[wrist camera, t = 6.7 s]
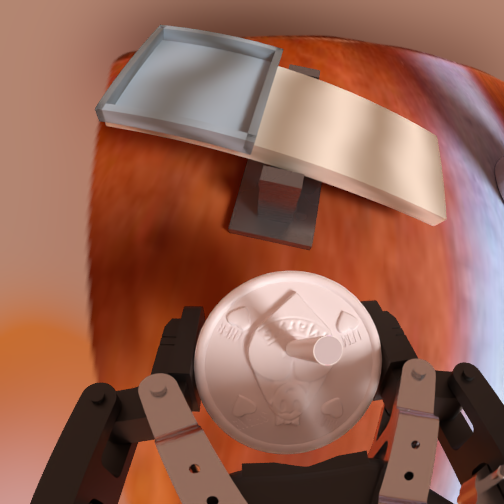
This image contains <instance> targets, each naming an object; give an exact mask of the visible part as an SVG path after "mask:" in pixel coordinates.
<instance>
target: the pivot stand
mask: <svg viewBox="0 0 504 504" xmlns="http://www.w3.org/2000/svg"><path fill="white" fill-rule="evenodd" d="M289 70H292V71H295V72H298V73H301V74H304V75H307V76H310V77H313V78H315V79H318V80H319V75H320V71H319V70H315V69H310V68H306V67H301V66H296V65H290V66H289ZM321 183H322V182H321V181H318V180H315V179H312V178H309V177H306V176H304V174H301V173H297V172H292V171H288V170H285V169H282V168H278V167H275V166H272V165H269V164H265V163H262V162H259V161H255V160H252V159H248V161H247V165H246V168H245V171H244V175H243V178H242V182H241V185H240V189H239V192H238V196H237V199H236V203H235V207H234V210H233V214H232V217H231V221H230V225H229V228H228V229H229V233H233V234H238V235H242V236H247V237H252V238H256V239H261V240H265V241H270V242H275V243H279V244H284V245H288V246H293V247H297V248H302V249H306V250H310V249H311V247H312V243H313V236H314V230H315V224H316V218H317V211H318V204H319V197H320V190H321Z"/></svg>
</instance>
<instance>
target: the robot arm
mask: <svg viewBox="0 0 504 504" xmlns="http://www.w3.org/2000/svg"><path fill="white" fill-rule="evenodd" d="M495 176H496V181H497V185H498V188H499V191H500V194H501V196H502V198H503V200H504V156H503V157H502V158H501V159H500V160H499V161H498V162H497V163H496V166H495ZM360 302H361V303H362V305H363V306H364V307H365V308H366V310H367V311H368V313H369V314H370V316H371V318H372V320H373V322H374V324H375V327H376V329H377V332H378V336H379V339H380V344H381V352H382V368H381V375H380V380H379V384H378V388H377V391H376V393H375V396H374V398H373V401H375V400H381V399H383V402H384V405H383V407H382V410H381V414H380V418H379V422H378V426H377V429H376V433H375V437H374V440H373V444H372V446H371V449H370V451H369V453H368V455H367V451H362V452H357V453H352V454H346V455H340V456H336V457H334V458H331V459H329V460H326V461H323V462H321V463H318V464H315V465H312V466H309V467H302V466H294V465H287V464H280V463H246V464H242V470H241V471H237V472H234V473H231V474H228V473H227V471H226V469H225V468H224V466H223V464H222V463H221V461H220V459H219V458H218V456H217V454H216V452H215V451H214V449H213V447H212V445H211V444H210V442H209V440H208V438H207V437H206V435H205V433H204V431H203V429H202V428H201V426H199V425H198V424H197V422H196V420H195V418H194V416H193V414H192V411H198V412H200V404H201V398H200V396H199V393H198V389H197V386H196V381H195V373H194V357H195V349H196V345H197V341H198V338H199V335H200V332H201V330H202V327H203V325H204V323H205V316H204V309H203V307H202V306H185V307H184V309H183V313H182V317H181V319H171V320H170V322H169V323H168V324H167V325H166V326H165V328H164V331H163V334H162V338H161V341H160V346H159V348H158V351H157V355H156V358H155V362H154V365H153V369H152V372H151V375H150V376H148V377H146V378H145V379H144V380H143V381H142V382H141V383H140V385H139V386H138V387H136V388H132V389H126V390H120V391H115V389H114V388H113V387H112V386H111V385H109V384H106V383H95V384H92V385H90V386H88V387H87V388H86V389H85V390H84V391H83V393H82V395H81V397H80V398H79V400H78V402H77V404H76V406H75V408H74V410H73V412H72V414H71V416H70V418H69V419H68V421H67V423H66V425H65V427H64V430H63V431H62V434H61V436H60V437H59V440H58V442H57V444H56V446H55V448H54V450H53V452H52V454H51V456H50V459H49V461H48V463H47V465H46V468H45V470H44V472H43V474H42V477H41V479H40V481H39V483H38V486H37V488H36V490H35V493H34V495H33V498H32V500H31V503H30V504H118V502H119V498H120V495H121V492H122V489H123V486H124V483H125V480H126V477H127V474H128V471H129V468H130V465H131V462H132V459H133V456H134V453H135V450H136V447H137V444H138V442H141V441H147V440H153V439H155V444H156V447H157V449H158V452H159V454H160V457H161V459H162V461H163V464H164V466H165V468H166V470H167V473H168V475H169V477H170V479H171V481H172V483H173V486H174V488H175V490H176V492H177V494H178V496H179V498H180V500H181V502H182V504H453V503H452V502H450V501H448V500H447V499H445V498H444V497H442V496H440V495H439V494H437V493H436V492H434V491H433V490H431V489H429V488H430V483H431V478H432V472H433V467H434V460H435V454H436V447H437V438H438V440H439V442H440V444H441V446H442V448H443V450H444V451H445V453H446V455H447V457H448V459H449V461H450V463H451V465H452V467H453V469H454V471H455V474H456V476H457V478H458V480H459V482H460V484H461V489H460V495H459V496H458V498H457V502H458V504H504V405H503V403H502V402H501V400H500V399H499V397H498V396H497V394H496V393H495V392H494V390H493V389H492V387H491V386H490V385H489V383H488V382H487V380H486V379H485V378H484V376H483V375H482V374H481V372H480V371H479V370H478V368H476V367H475V366H474V365H472V364H470V363H459V364H457V365H456V366H455V368H454V369H453V371H452V372H447V371H436V370H434V368H433V366H432V365H431V364H430V363H428V362H427V361H425V360H422V359H418V357H417V355H416V353H415V352H414V350H413V348H412V346H411V344H410V342H409V341H408V339H407V337H406V335H404V332H403V330H402V328H400V327H401V326H400V325H399V323H398V321H397V320H396V318H395V317H394V316H393V315H391V314H390V313H389V312H388V311H382V309H381V307H380V306H379V304H378V302H377V301H376V300H373V301H360ZM462 409H463V410H464V411H465V413H466V415H467V416H468V418H469V419H470V421H471V423H472V425H473V428H474V432H472V430H471V428H470V427H469V425H468V423H467V421H466V420H465V418H464V416H463V415H462V413H461V412H460V411H461V410H462Z"/></svg>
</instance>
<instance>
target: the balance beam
mask: <svg viewBox="0 0 504 504" xmlns="http://www.w3.org/2000/svg"><path fill="white" fill-rule="evenodd" d="M282 52H283V49H281V48H277V47H274V46H270V45H267V44H263V43H259V42H255V41H251V40H247V39H243V38H239V37H234V36H229V35H224V34H220V33H214V32H209V31H202V30H197V29H190V28H183V27H175V26H166V25H160V26H159V27H158V28H157V29H156V30H155V31H154V32H153V33H152V35H151V36H150V37H149V38H148V39H147V40H146V42H145V43H144V44H143V45H142V46H141V47H140V48H139V50H138V51H137V52H136V53H135V54H134V56H133V57H132V58H131V59H130V61H129V62H128V63H127V64H126V66H125V67H124V68H123V70H122V71H121V72H120V73H119V75H118V76H117V77H116V79H115V80H114V82H113V83H112V84H111V86H110V87H109V88H108V90H107V91H106V93H105V94H104V96H103V97H102V99H101V100H100V101H99V103H98V104H97V106H96V108H95V111H96V113H97V116H98V119H99V121H102V122H105V124H106V126H110V127H115V128H121V129H126V130H132V131H137V132H142V133H147V134H152V135H156V136H161V137H165V138H170V139H174V140H179V141H183V142H187V143H191V144H196V145H200V146H204V147H208V148H212V149H215V150H219V151H223V152H227V153H230V154H234V155H238V156H241V157H245V158H248V159H252V160H255V161H259V162H262V163H265V164H269V165H272V166H275V167H278V168H282V169H285V170H288V171H292V172H297V173H301V174H304V176H306V177H309V178H312V179H315V180H318V181H321V182H324V183H327V184H329V185H332V186H335V187H338V188H341V189H343V190H346V191H349V192H351V193H354V194H357V195H359V196H362V197H365V198H367V199H370V200H372V201H375V202H377V203H380V204H382V205H385V206H387V207H390V208H392V209H395V210H397V211H400V212H402V213H404V214H407V215H409V216H411V217H414V218H416V219H418V220H421V221H423V222H425V223H427V224H430V225H432V226H435V225H437V224H439V223H441V222H443V221H445V220H446V204H445V193H444V183H443V174H442V166H441V159H440V153H439V146H438V140H437V136H436V135H434V134H432V133H431V132H429V131H427V130H425V129H424V128H422V127H420V126H418V125H417V124H415V123H413V122H411V121H409V120H407V119H405V118H404V117H402V116H400V115H398V114H396V113H394V112H392V111H390V110H388V109H386V108H384V107H382V106H380V105H378V104H375V103H373V102H371V101H369V100H367V99H365V98H362V97H360V96H358V95H356V94H353V93H351V92H349V91H346V90H344V89H341V88H339V87H336V86H334V85H331V84H329V83H326V82H323V81H321V80H318V79H315V78H313V77H310V76H307V75H304V74H301V73H298V72H295V71H292V70H289V69H286V68H282V67H279V66H278V65H279V61H280V58H281V55H282Z"/></svg>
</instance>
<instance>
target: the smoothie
mask: <svg viewBox="0 0 504 504" xmlns="http://www.w3.org/2000/svg"><path fill="white" fill-rule="evenodd" d="M381 368H382V352H381V344H380V339H379V336H378V332H377V329H376V327H375V324H374V322H373V320H372V318H371V316H370V314H369V313H368V311H367V310H366V308H365V307H364V306H363V305H362V303H361V302H360V301H359V300H358V299H357V298H356V297H355V296H354V295H353V294H352V293H351V292H349V291H348V290H347V289H346V288H344V287H343V286H341V285H340V284H338V283H336V282H334V281H332V280H330V279H328V278H326V277H323V276H320V275H317V274H313V273H308V272H301V271H280V272H274V273H268V274H265V275H261V276H258V277H256V278H253V279H251V280H249V281H247V282H245V283H243V284H241V285H240V286H238V287H237V288H235V289H234V290H232V291H231V292H230V293H228V294H227V295H226V296H225V297H224V298H223V299H222V300H221V301H220V302H219V303H218V304H217V305H216V307H215V308H214V309H213V310H212V312H211V313H210V315H209V316H208V318H207V320H206V321H205V323H204V325H203V327H202V330H201V332H200V335H199V338H198V341H197V345H196V349H195V357H194V373H195V381H196V386H197V389H198V393H199V396H200V398H201V401H202V403H203V405H204V407H205V409H206V410H207V412H208V414H209V415H210V416H211V418H212V419H213V420H214V422H215V423H216V424H217V425H218V426H219V427H220V428H221V429H222V430H223V431H224V432H225V433H226V434H228V435H229V436H230V437H232V438H233V439H235V440H236V441H238V442H240V443H242V444H244V445H246V446H248V447H250V448H253V449H256V450H259V451H263V452H267V453H274V454H296V453H303V452H308V451H312V450H315V449H318V448H321V447H323V446H325V445H327V444H330V443H331V442H333V441H335V440H337V439H338V438H340V437H341V436H342V435H344V434H345V433H346V432H348V431H349V430H350V429H351V428H352V427H353V426H354V425H355V424H356V423H357V422H358V421H359V420H360V419H361V417H362V416H363V415H364V413H365V412H366V410H367V409H368V407H369V406H370V404H371V402H372V400H373V398H374V396H375V393H376V391H377V388H378V384H379V380H380V375H381Z"/></svg>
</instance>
